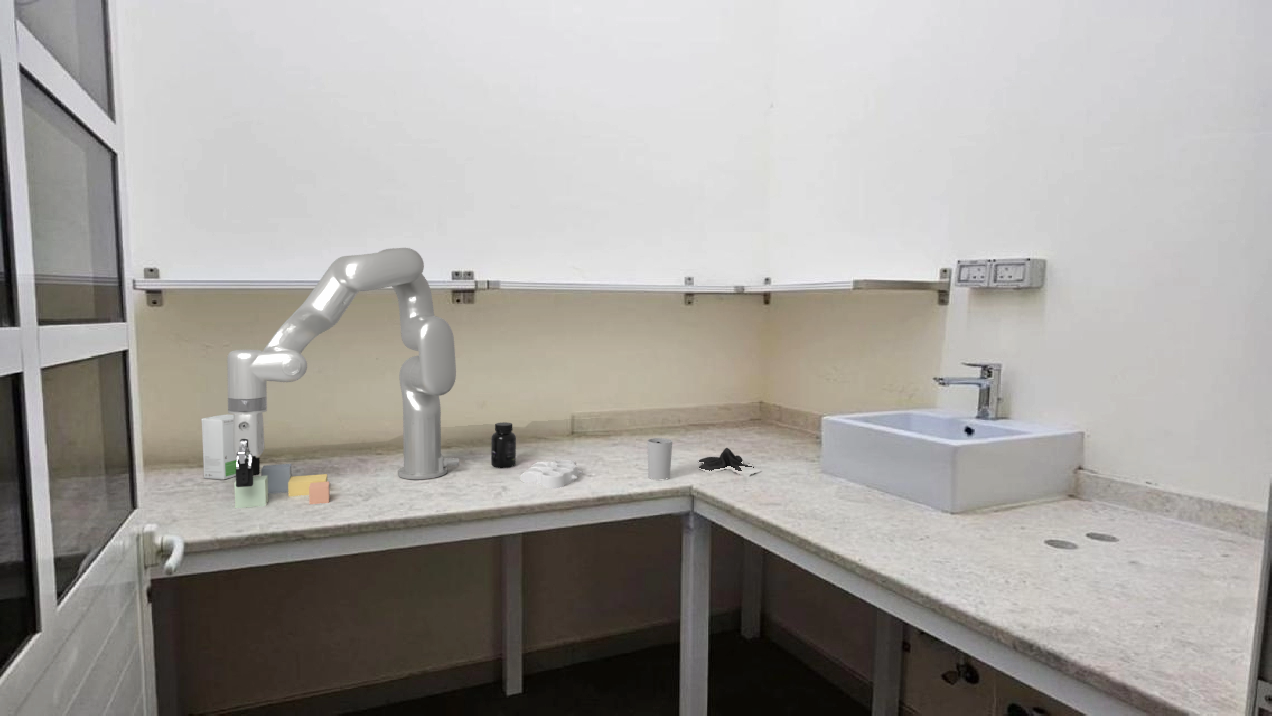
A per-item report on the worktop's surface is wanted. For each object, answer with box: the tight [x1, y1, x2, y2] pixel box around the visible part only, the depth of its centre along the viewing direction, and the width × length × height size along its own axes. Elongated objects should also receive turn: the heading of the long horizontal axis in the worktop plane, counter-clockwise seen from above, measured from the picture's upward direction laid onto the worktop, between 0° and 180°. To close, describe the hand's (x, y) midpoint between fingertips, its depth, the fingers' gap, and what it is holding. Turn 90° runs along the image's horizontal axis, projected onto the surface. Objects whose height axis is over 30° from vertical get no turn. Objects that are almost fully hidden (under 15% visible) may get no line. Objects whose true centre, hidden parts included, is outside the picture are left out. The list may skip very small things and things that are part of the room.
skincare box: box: [201, 414, 237, 480], centre depth 175 cm, size 8×7×16 cm
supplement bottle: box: [490, 421, 517, 469], centre depth 190 cm, size 7×7×12 cm
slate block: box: [260, 463, 293, 495], centre depth 163 cm, size 6×4×6 cm, turn 112°
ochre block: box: [287, 473, 328, 497], centre depth 163 cm, size 8×6×4 cm
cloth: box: [698, 447, 755, 471], centre depth 194 cm, size 22×19×6 cm
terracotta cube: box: [308, 481, 331, 505], centre depth 155 cm, size 4×4×4 cm
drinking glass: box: [647, 437, 673, 480], centre depth 180 cm, size 7×7×10 cm
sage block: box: [233, 475, 269, 509], centre depth 152 cm, size 6×4×6 cm, turn 112°
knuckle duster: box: [519, 458, 583, 489], centre depth 178 cm, size 3×18×15 cm
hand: (248, 480), depth 151 cm, fingers open, 9 cm apart
